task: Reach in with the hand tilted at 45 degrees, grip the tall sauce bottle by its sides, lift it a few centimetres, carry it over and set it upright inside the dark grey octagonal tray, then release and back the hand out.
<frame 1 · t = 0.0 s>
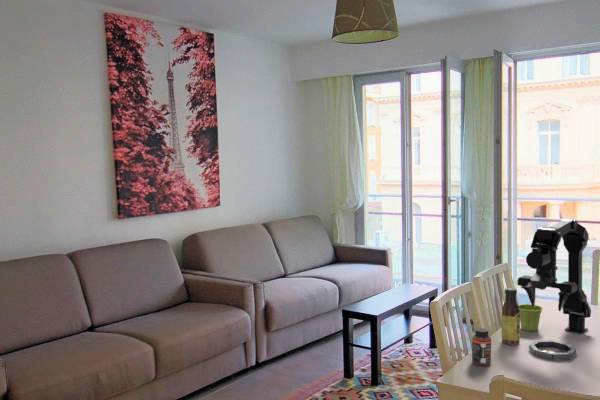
hand: (546, 308, 202), 15 cm above the table, tool pointing down, fingers open, 9 cm apart
supplement bottle: (481, 363, 192), on the table
dark grey octagonal tray: (552, 352, 200), on the table
sauce bottle: (510, 343, 211), on the table
plant pot: (529, 329, 226), on the table
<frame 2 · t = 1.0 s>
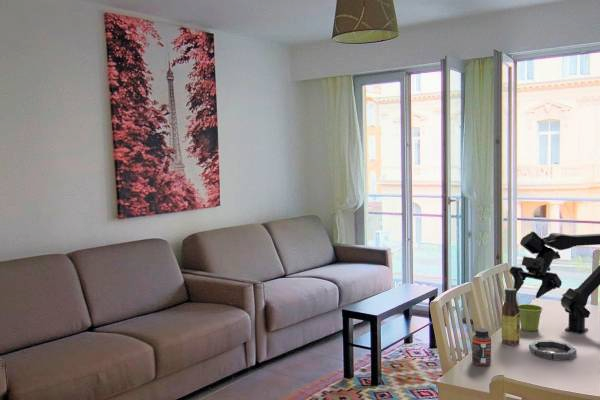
hand: (525, 295, 214), 16 cm above the table, tool tilted 45°, fingers open, 9 cm apart
nothing on the table moved.
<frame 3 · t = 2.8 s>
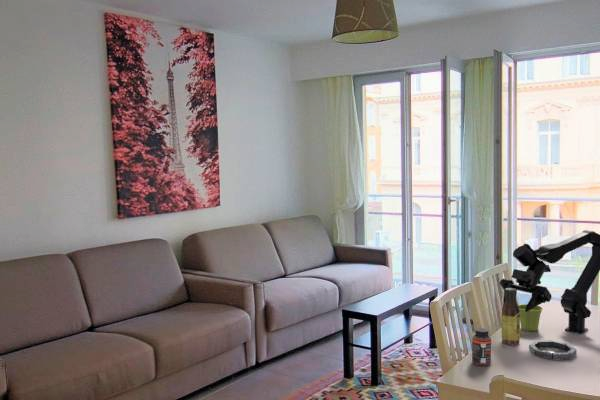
hand: (514, 308, 211), 12 cm above the table, tool tilted 45°, fingers open, 9 cm apart
nothing on the table moved.
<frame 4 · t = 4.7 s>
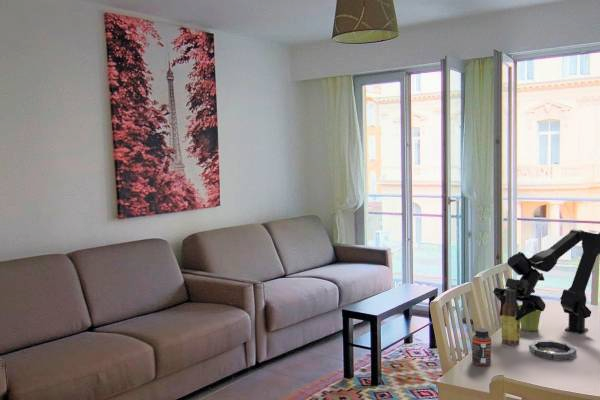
hand: (508, 317, 209), 10 cm above the table, tool tilted 45°, fingers closed on sauce bottle, 6 cm apart
sauce bottle: (510, 343, 211), on the table, touching gripper
everything else where it was.
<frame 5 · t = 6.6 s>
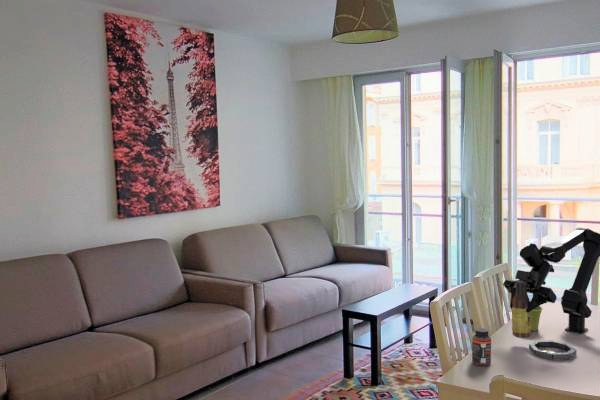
hand: (518, 310, 207), 13 cm above the table, tool tilted 45°, fingers closed on sauce bottle, 6 cm apart
sauce bottle: (521, 336, 208), point 3 cm above the table, touching gripper
everything else where it was.
when the fingers open (11 cm above the table, at t = 8.9 s): sauce bottle stays where it is, resting on dark grey octagonal tray.
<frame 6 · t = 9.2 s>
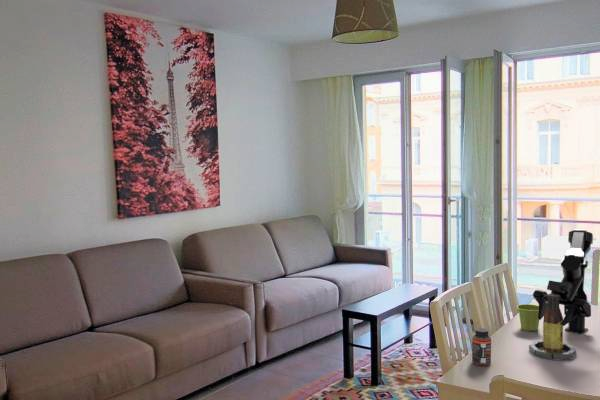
hand: (550, 322, 198), 11 cm above the table, tool tilted 45°, fingers open, 8 cm apart
sauce bottle: (552, 351, 200), resting on dark grey octagonal tray
everything else where it was.
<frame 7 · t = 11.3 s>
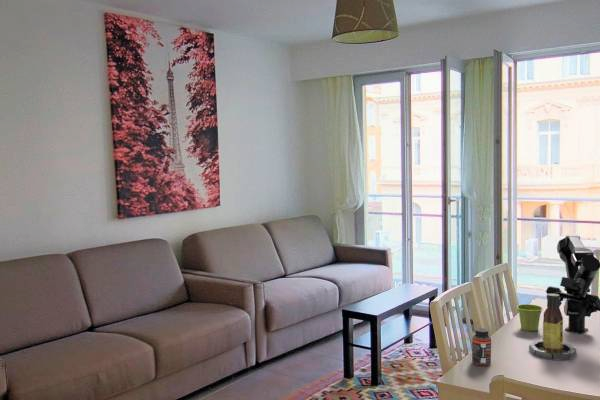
hand: (563, 317, 203), 11 cm above the table, tool tilted 45°, fingers open, 9 cm apart
nothing on the table moved.
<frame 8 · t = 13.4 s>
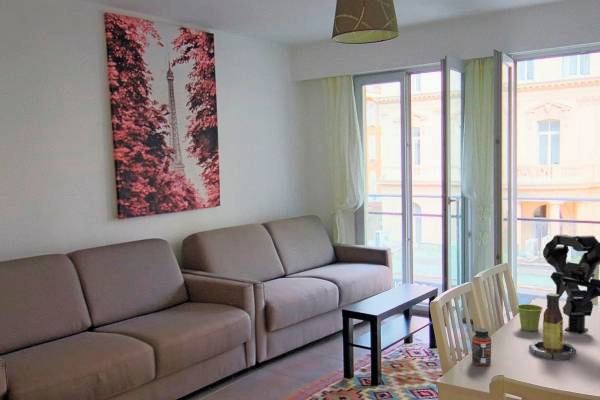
hand: (568, 302, 206), 16 cm above the table, tool tilted 45°, fingers open, 9 cm apart
nothing on the table moved.
at the end: sauce bottle 0.2 cm off-centre on the dark grey octagonal tray, point 0.2 cm above the dark grey octagonal tray's base; sauce bottle tilted 0°; the gripper is holding nothing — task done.
